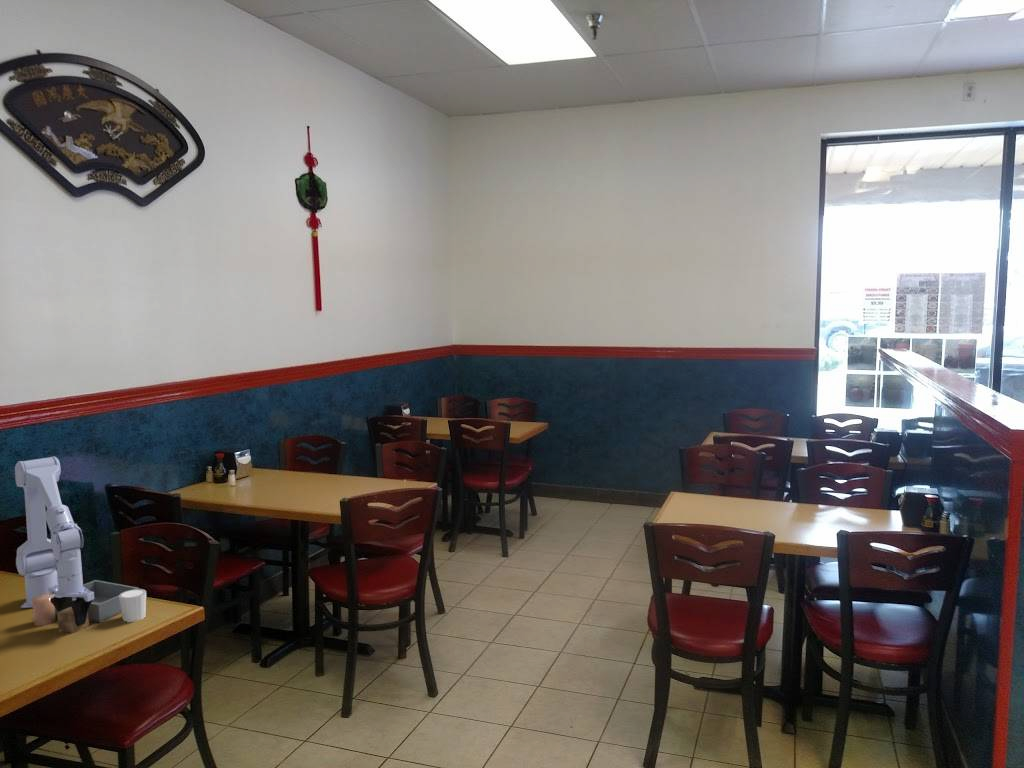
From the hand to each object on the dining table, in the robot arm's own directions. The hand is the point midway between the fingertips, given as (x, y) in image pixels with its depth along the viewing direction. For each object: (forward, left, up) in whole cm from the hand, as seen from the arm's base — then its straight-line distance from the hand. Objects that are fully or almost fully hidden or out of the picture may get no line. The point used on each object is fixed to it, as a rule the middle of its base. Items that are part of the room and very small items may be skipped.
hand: (73, 622), depth 204 cm
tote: (-12, +2, -1) cm, 13 cm away
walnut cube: (0, 0, -1) cm, 1 cm away
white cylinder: (-4, +14, -2) cm, 15 cm away
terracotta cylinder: (-6, -9, -2) cm, 11 cm away
